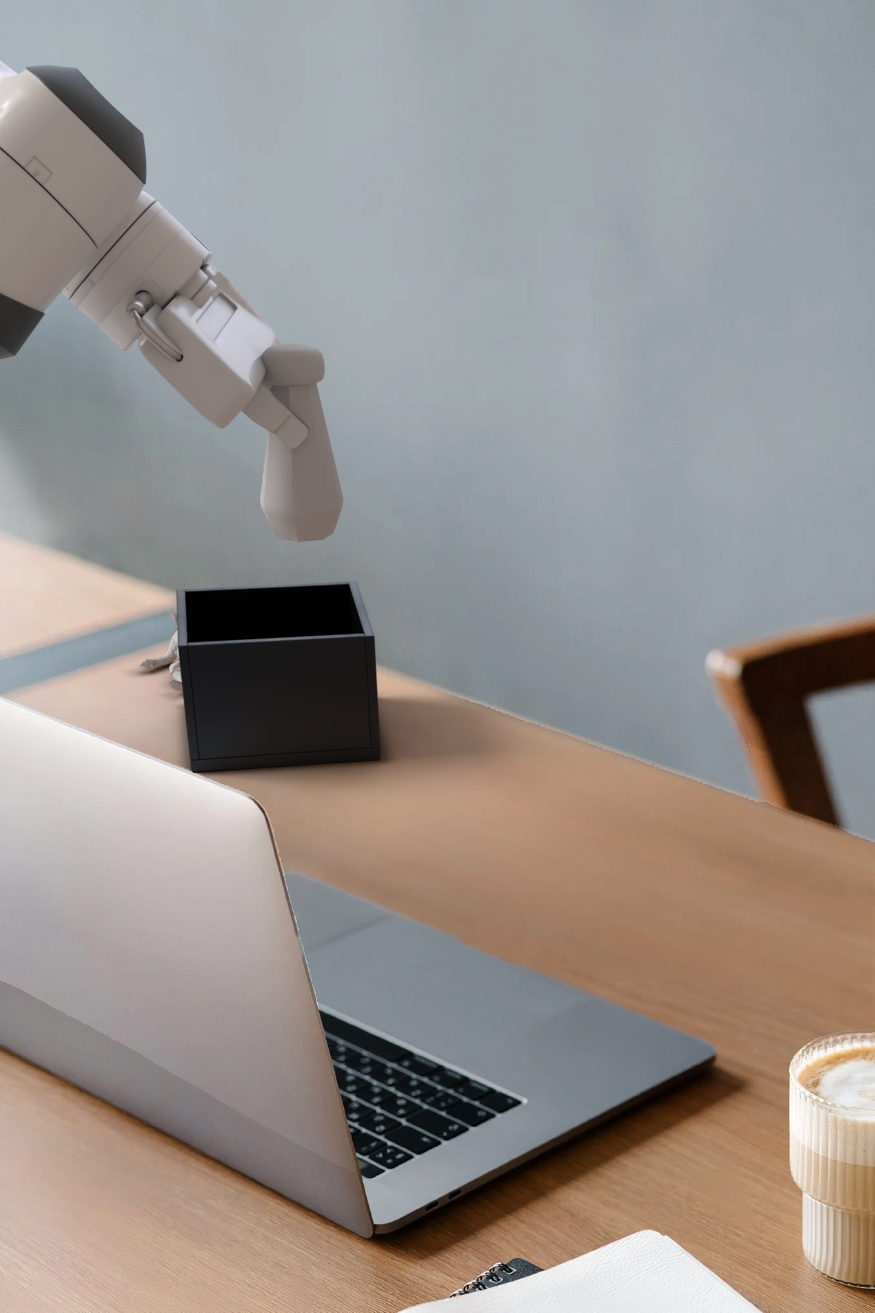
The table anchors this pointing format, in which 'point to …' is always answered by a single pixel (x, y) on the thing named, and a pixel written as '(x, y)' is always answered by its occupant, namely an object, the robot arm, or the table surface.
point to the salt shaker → (300, 451)
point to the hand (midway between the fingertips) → (305, 433)
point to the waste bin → (277, 675)
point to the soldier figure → (169, 659)
